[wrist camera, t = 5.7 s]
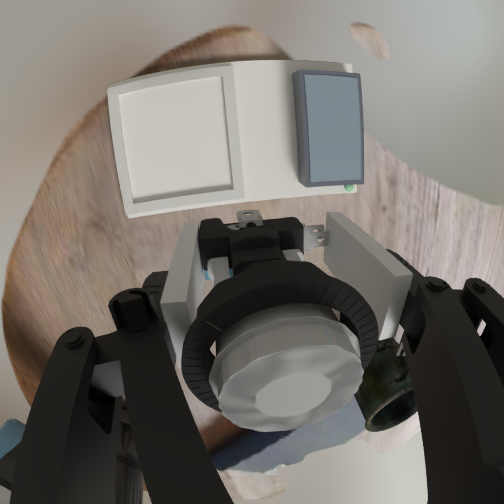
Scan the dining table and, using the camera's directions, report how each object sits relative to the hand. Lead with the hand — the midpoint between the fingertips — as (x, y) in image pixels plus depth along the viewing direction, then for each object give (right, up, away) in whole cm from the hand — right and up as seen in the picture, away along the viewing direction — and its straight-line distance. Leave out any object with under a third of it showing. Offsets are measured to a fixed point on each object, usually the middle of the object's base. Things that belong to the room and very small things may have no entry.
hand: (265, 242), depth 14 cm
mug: (+18, -16, +27) cm, 37 cm away
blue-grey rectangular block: (+6, +12, +11) cm, 17 cm away
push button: (0, +1, +1) cm, 1 cm away
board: (-2, +11, +11) cm, 16 cm away
